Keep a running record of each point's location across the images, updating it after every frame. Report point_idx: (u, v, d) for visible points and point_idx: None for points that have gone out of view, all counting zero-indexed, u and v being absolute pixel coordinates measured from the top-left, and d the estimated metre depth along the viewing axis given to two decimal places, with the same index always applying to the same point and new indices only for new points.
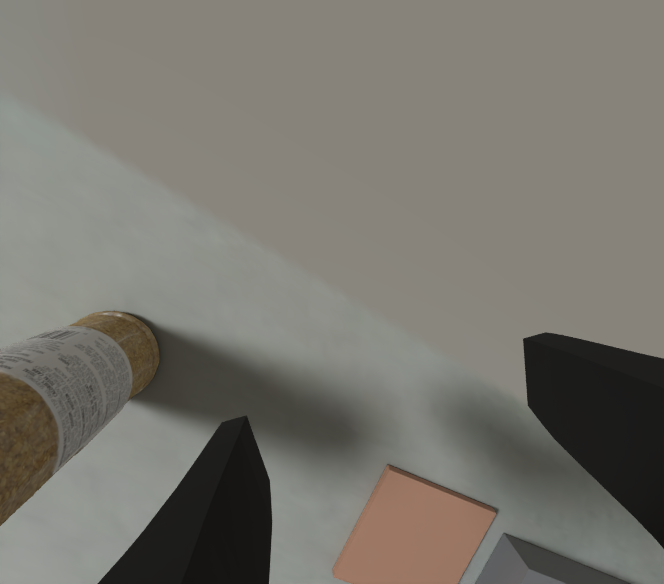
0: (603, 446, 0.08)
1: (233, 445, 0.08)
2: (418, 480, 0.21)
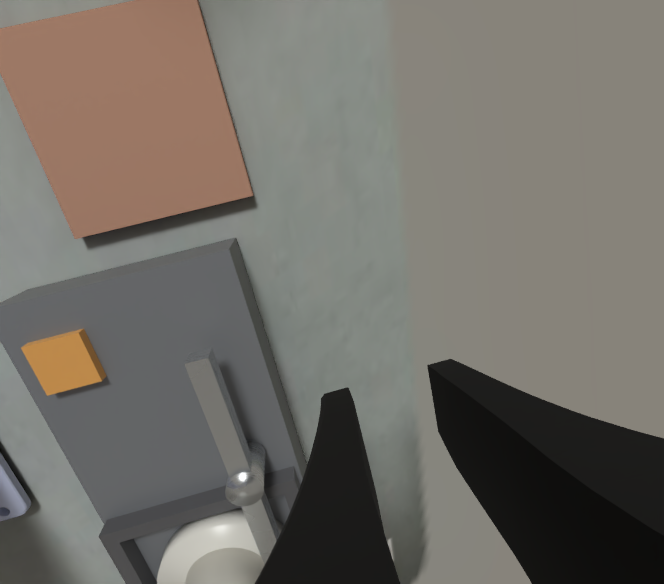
0: (486, 481, 0.08)
1: (354, 411, 0.08)
2: (211, 49, 0.14)
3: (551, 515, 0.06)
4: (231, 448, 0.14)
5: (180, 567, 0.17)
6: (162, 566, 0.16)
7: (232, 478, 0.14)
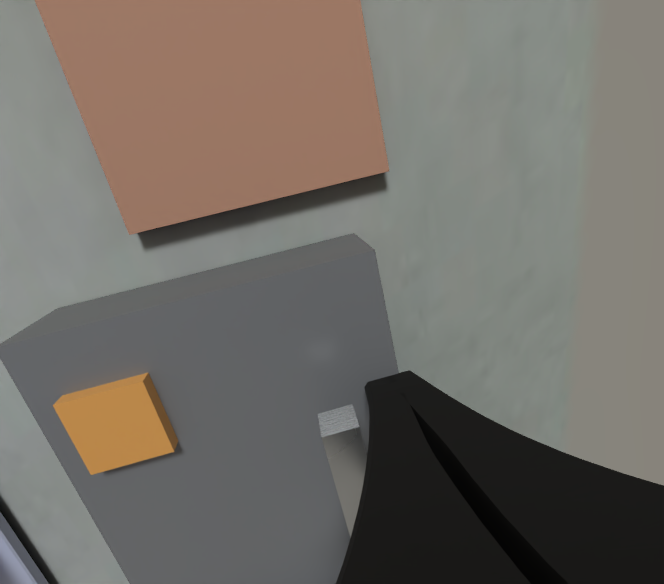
0: None
1: (405, 396, 0.08)
2: None
3: None
4: None
5: None
6: None
7: None
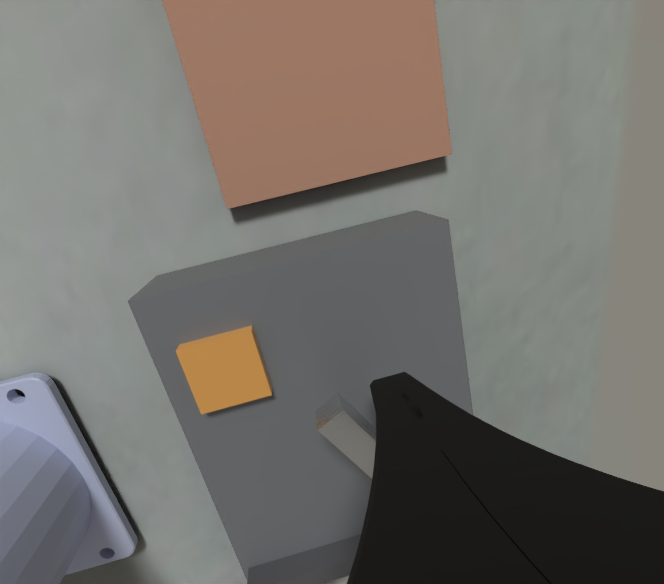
0: None
1: (411, 395, 0.08)
2: None
3: None
4: None
5: None
6: None
7: None
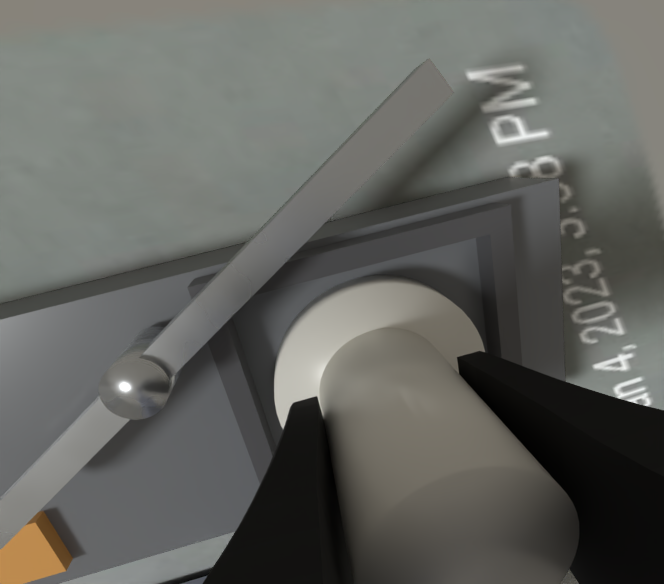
0: None
1: (317, 421, 0.08)
2: None
3: (600, 500, 0.06)
4: (82, 439, 0.09)
5: None
6: None
7: (126, 416, 0.08)
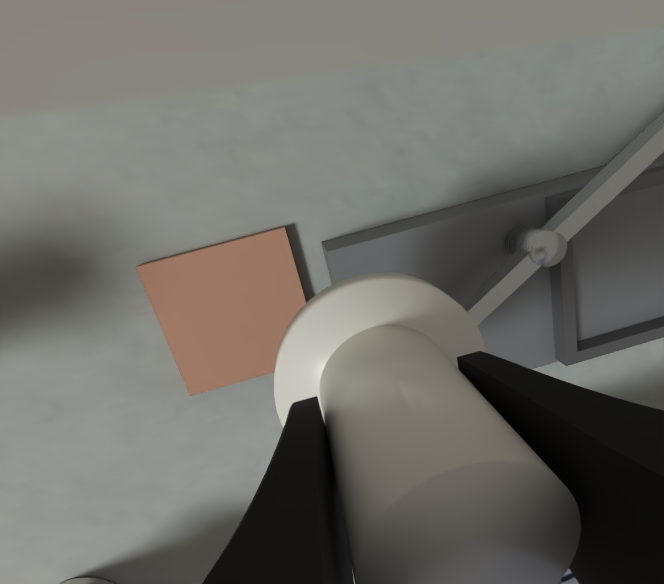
0: None
1: (317, 421, 0.08)
2: (175, 256, 0.18)
3: (600, 500, 0.06)
4: (512, 280, 0.16)
5: None
6: None
7: (540, 265, 0.16)
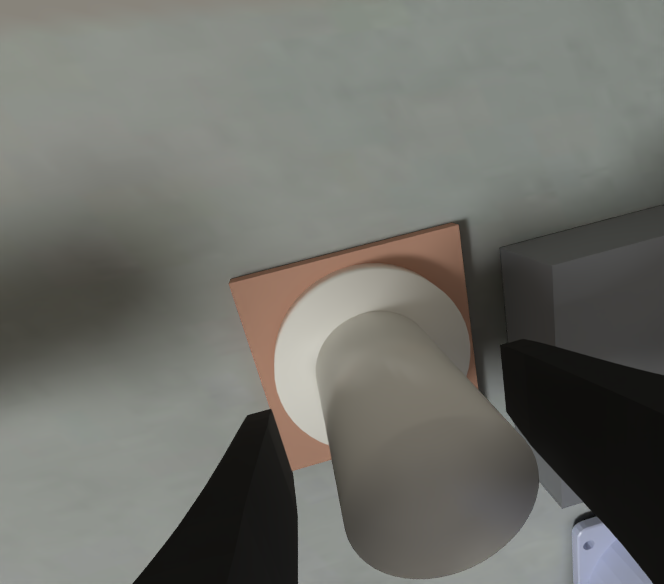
0: (575, 455, 0.08)
1: (262, 437, 0.08)
2: (290, 267, 0.11)
3: None
4: None
5: None
6: None
7: None
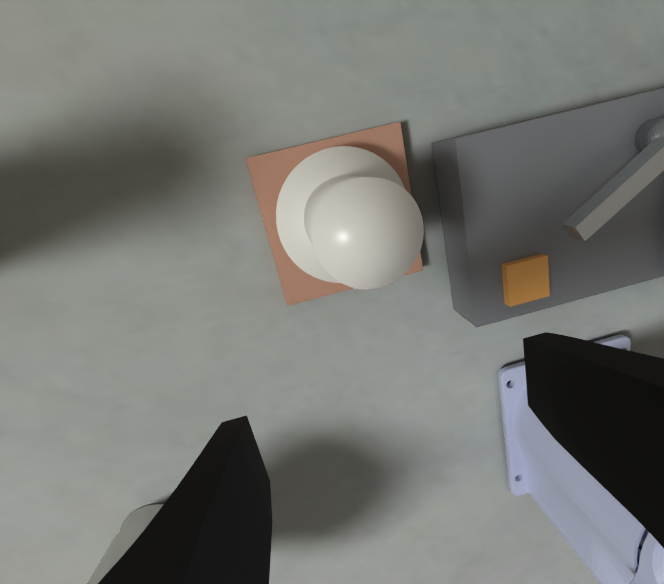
0: (603, 446, 0.08)
1: (233, 445, 0.08)
2: None
3: None
4: (653, 166, 0.15)
5: None
6: (322, 278, 0.18)
7: None
